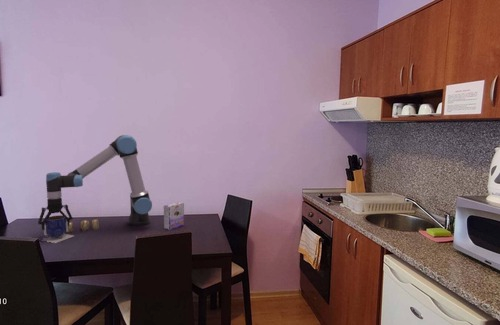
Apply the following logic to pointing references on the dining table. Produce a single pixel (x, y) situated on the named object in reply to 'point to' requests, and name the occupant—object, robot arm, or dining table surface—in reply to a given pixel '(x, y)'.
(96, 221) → the brass tin
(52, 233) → the planter
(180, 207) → the candy box
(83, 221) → the brass tin
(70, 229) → the brass tin
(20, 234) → the dining table surface
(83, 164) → the robot arm
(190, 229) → the dining table surface
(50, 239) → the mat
